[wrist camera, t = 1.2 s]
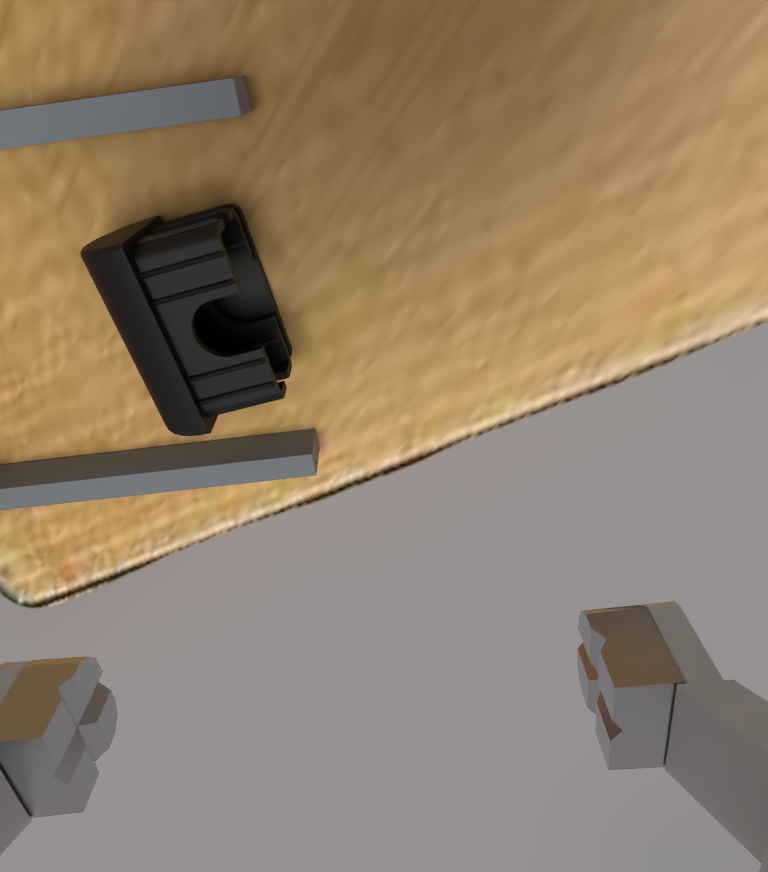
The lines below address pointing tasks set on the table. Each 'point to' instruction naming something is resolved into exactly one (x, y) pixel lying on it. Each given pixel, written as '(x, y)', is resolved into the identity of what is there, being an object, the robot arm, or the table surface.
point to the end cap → (194, 314)
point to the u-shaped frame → (164, 463)
